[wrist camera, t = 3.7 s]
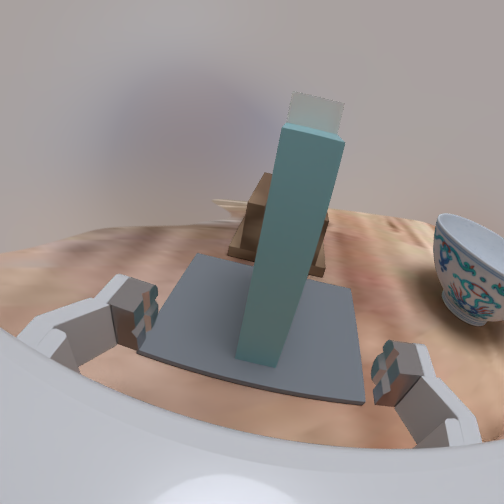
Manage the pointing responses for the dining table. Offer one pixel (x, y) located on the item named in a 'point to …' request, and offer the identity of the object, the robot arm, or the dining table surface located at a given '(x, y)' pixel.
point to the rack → (251, 226)
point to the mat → (229, 326)
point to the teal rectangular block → (291, 224)
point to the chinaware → (470, 269)
